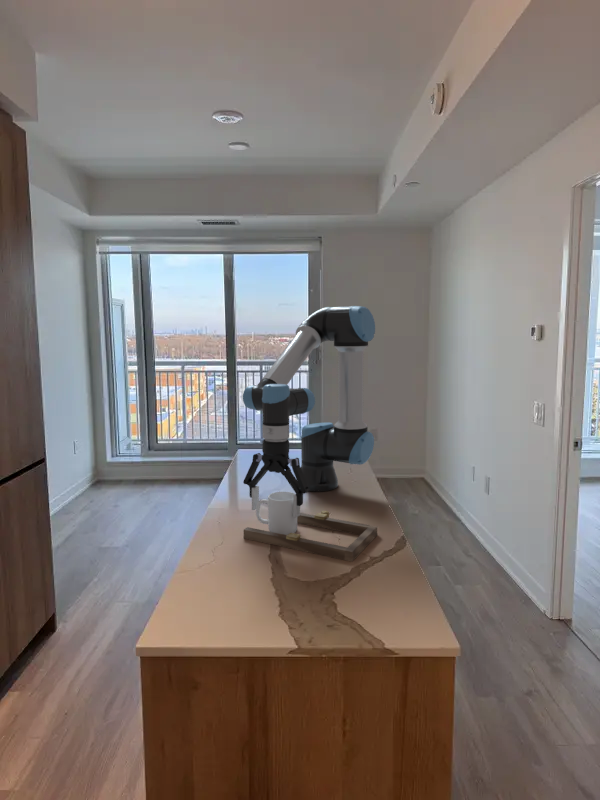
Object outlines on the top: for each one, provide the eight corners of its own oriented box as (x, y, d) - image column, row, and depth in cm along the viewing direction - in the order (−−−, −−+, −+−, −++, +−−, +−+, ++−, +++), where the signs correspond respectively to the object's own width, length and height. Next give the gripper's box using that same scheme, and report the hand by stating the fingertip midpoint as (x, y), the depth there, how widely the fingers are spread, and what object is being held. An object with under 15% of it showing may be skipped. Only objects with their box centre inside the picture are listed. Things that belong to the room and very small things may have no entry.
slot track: (282, 513, 164) (282, 503, 163) (380, 531, 149) (381, 519, 149) (243, 538, 144) (243, 527, 144) (351, 561, 129) (351, 549, 129)
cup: (295, 536, 145) (294, 501, 144) (252, 534, 147) (252, 499, 146) (299, 525, 154) (299, 492, 152) (259, 523, 155) (258, 490, 154)
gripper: (231, 437, 149) (231, 509, 152) (309, 446, 138) (308, 523, 140) (245, 433, 156) (246, 502, 158) (321, 441, 144) (320, 515, 147)
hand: (275, 512), depth 149 cm, fingers open, 13 cm apart
